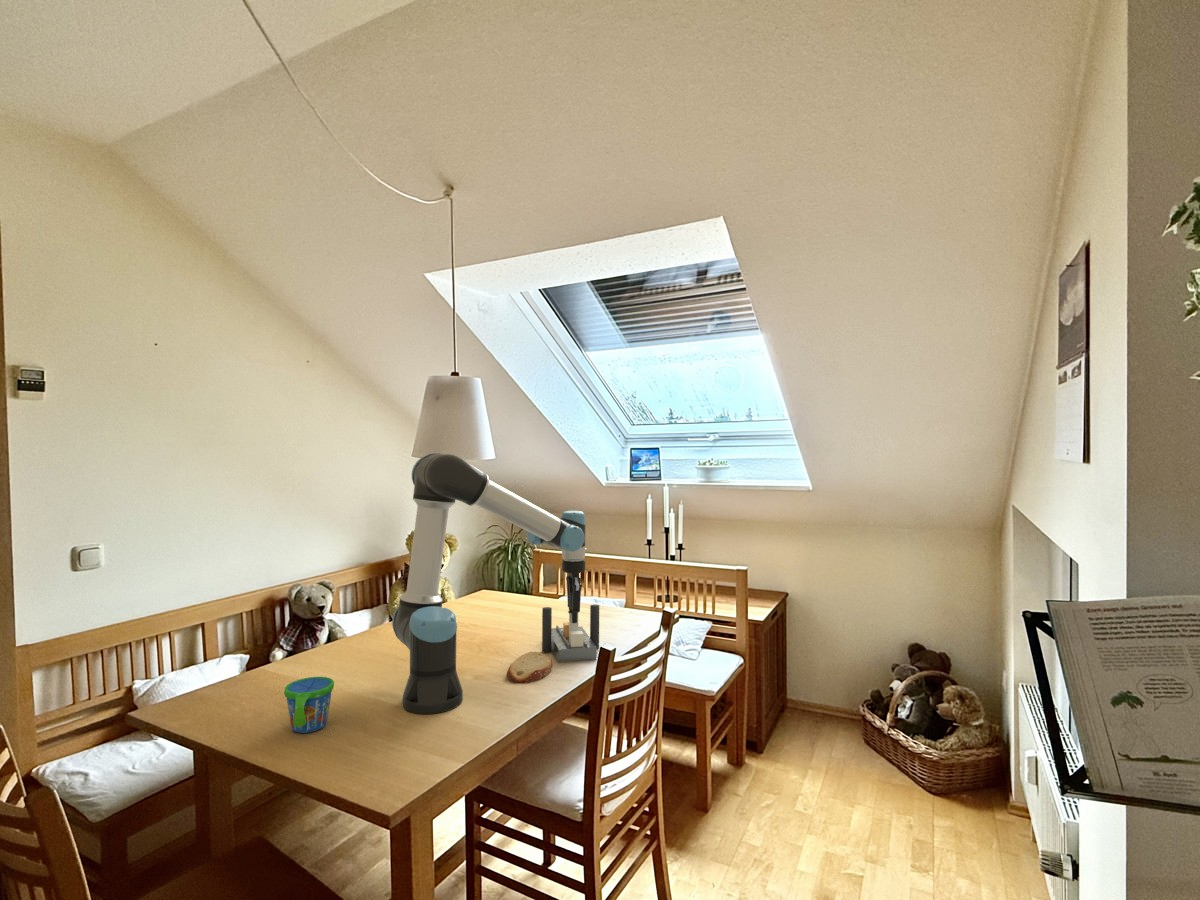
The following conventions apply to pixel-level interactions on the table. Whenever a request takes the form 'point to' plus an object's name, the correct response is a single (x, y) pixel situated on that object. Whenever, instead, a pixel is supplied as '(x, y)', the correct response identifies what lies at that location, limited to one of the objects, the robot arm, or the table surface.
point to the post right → (594, 624)
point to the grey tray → (571, 653)
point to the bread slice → (529, 668)
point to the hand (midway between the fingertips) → (573, 631)
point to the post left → (546, 629)
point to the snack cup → (309, 703)
